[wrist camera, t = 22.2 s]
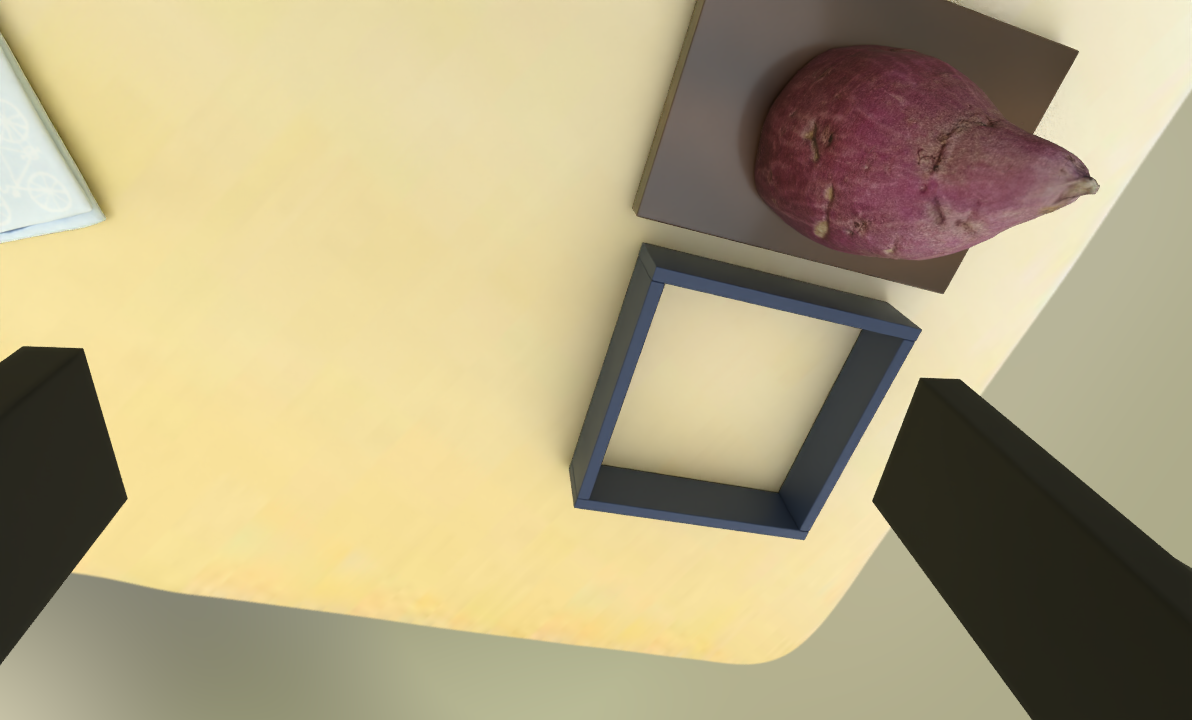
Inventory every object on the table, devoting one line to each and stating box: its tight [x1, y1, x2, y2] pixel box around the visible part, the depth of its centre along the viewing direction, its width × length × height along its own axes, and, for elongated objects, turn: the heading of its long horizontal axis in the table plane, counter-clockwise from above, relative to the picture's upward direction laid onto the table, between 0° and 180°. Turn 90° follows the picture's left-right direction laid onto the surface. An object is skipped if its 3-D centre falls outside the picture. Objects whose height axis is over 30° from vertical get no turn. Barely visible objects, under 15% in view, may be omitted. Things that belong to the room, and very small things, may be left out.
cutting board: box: [632, 0, 1079, 294], centre depth 35 cm, size 14×20×2 cm
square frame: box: [569, 243, 922, 540], centre depth 41 cm, size 17×17×4 cm
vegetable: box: [754, 45, 1100, 260], centre depth 29 cm, size 10×10×15 cm
